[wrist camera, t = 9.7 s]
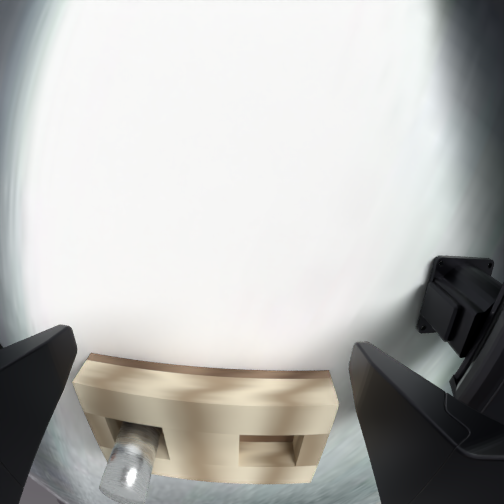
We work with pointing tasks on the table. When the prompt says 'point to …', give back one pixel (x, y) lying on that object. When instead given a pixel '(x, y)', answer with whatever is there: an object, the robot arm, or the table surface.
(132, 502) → the pin
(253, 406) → the bore block
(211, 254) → the table surface
